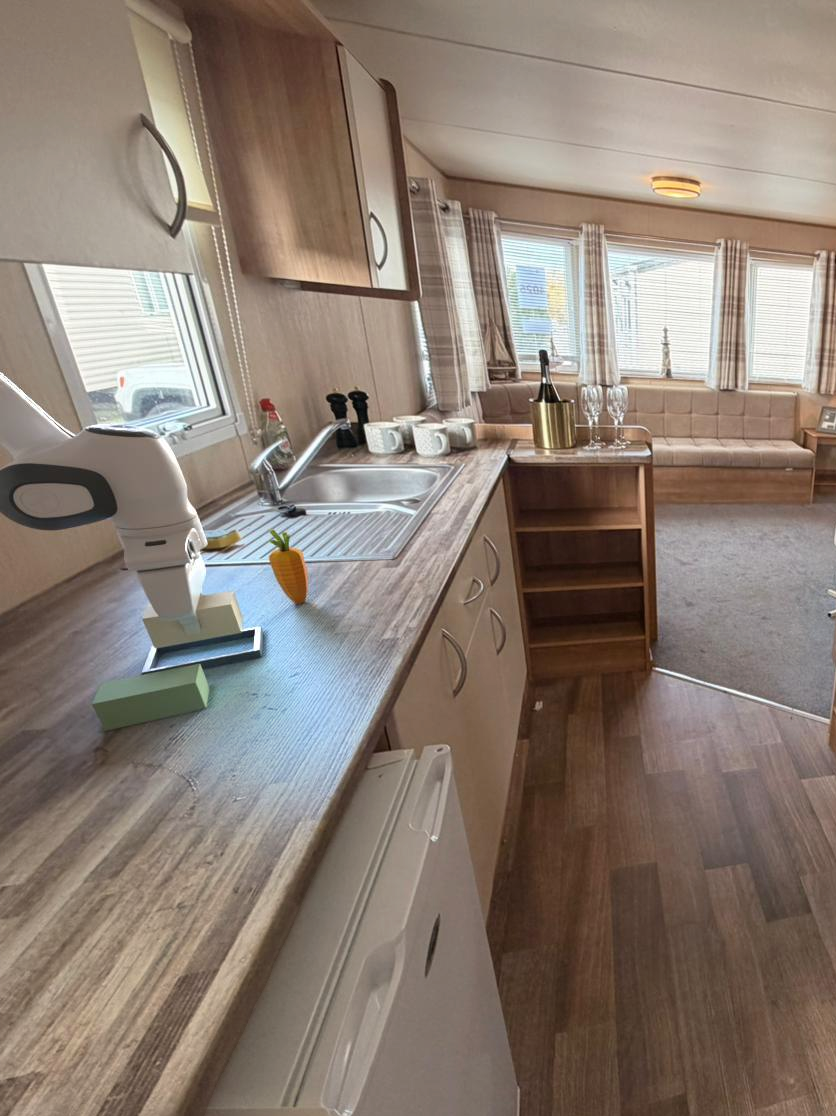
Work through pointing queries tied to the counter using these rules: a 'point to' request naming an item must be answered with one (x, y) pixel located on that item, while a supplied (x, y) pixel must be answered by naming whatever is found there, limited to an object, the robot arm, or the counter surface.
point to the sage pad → (151, 696)
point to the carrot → (289, 568)
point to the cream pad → (213, 613)
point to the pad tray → (212, 661)
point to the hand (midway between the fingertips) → (197, 622)
